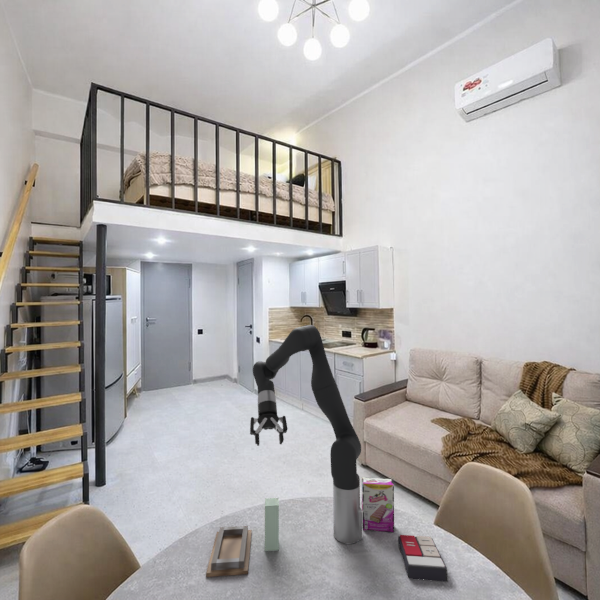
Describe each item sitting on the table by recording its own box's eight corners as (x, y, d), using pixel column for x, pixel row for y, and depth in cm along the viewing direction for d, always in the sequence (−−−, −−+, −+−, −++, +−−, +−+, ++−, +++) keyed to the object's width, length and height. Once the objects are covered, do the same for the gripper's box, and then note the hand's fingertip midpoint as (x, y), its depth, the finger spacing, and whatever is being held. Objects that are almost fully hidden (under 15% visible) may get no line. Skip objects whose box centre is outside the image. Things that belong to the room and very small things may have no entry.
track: (251, 532, 115) (251, 523, 115) (247, 574, 96) (247, 563, 96) (216, 534, 113) (216, 525, 114) (205, 577, 95) (206, 566, 95)
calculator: (431, 535, 108) (447, 566, 93) (432, 549, 107) (448, 582, 93) (397, 532, 109) (407, 563, 94) (398, 546, 109) (408, 579, 94)
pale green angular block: (278, 541, 110) (278, 497, 111) (278, 550, 106) (278, 505, 107) (264, 541, 110) (265, 498, 111) (264, 551, 105) (264, 506, 106)
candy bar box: (362, 531, 115) (362, 483, 116) (361, 522, 120) (360, 476, 121) (395, 533, 114) (394, 484, 115) (392, 524, 119) (391, 478, 120)
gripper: (250, 400, 130) (251, 441, 118) (285, 399, 133) (290, 438, 121) (248, 409, 135) (249, 449, 123) (283, 408, 138) (287, 447, 126)
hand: (269, 444), depth 122 cm, fingers open, 8 cm apart
